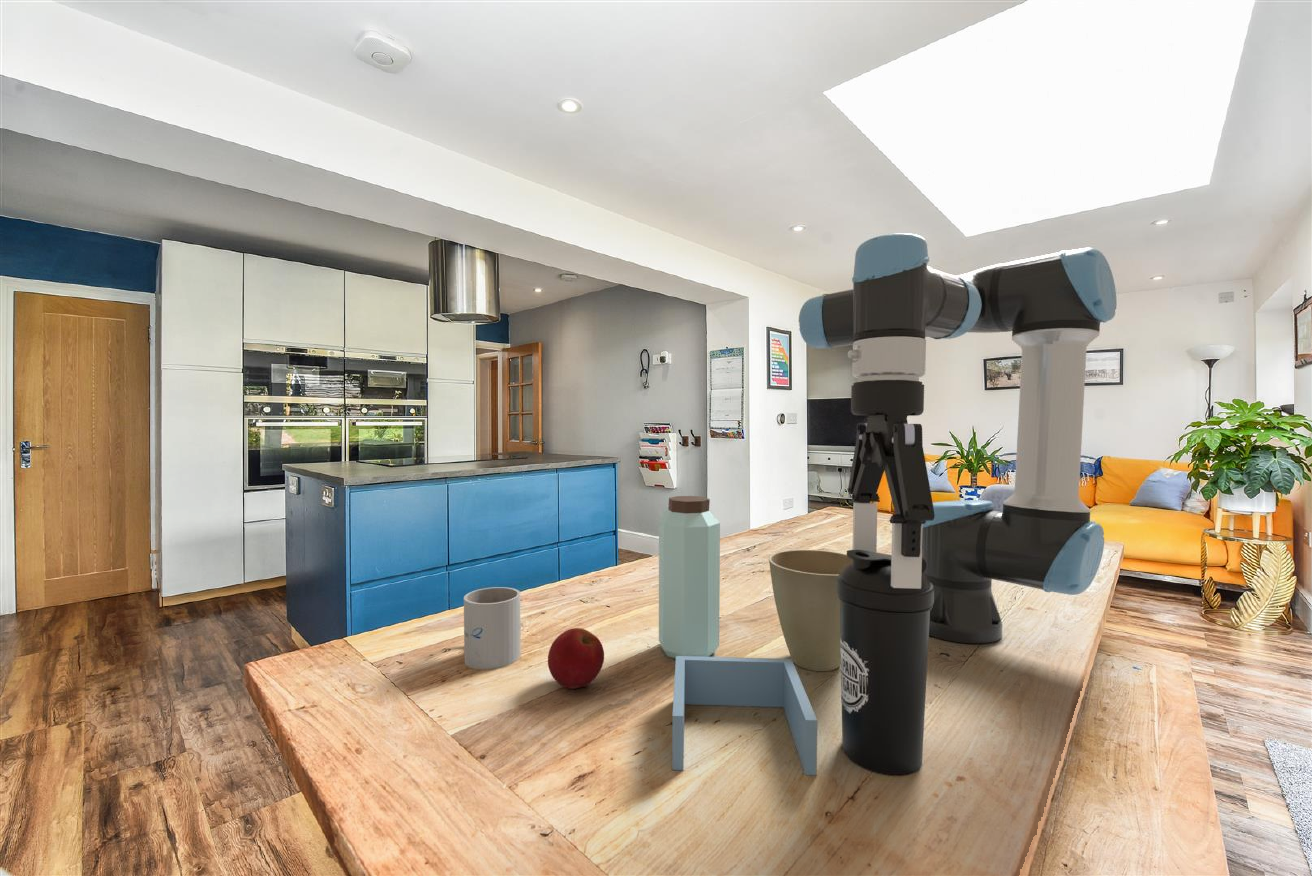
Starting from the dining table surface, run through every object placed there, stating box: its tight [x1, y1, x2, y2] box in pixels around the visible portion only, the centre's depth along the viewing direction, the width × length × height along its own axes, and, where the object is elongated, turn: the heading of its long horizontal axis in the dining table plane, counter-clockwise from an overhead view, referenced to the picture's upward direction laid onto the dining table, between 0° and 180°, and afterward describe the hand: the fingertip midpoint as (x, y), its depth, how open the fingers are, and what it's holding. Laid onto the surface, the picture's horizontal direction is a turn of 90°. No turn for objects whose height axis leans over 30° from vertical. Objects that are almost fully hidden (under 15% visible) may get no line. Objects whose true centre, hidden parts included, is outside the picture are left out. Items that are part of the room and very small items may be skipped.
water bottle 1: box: [658, 495, 721, 660], centre depth 93 cm, size 10×10×25 cm
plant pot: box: [768, 549, 852, 672], centre depth 89 cm, size 15×15×16 cm
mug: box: [463, 586, 522, 670], centre depth 92 cm, size 12×9×10 cm
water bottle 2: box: [836, 549, 934, 777], centre depth 64 cm, size 10×10×23 cm
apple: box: [547, 627, 605, 690], centre depth 81 cm, size 8×8×8 cm
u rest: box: [671, 656, 818, 776], centre depth 69 cm, size 15×15×6 cm
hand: (882, 570), depth 64 cm, fingers open, 13 cm apart
